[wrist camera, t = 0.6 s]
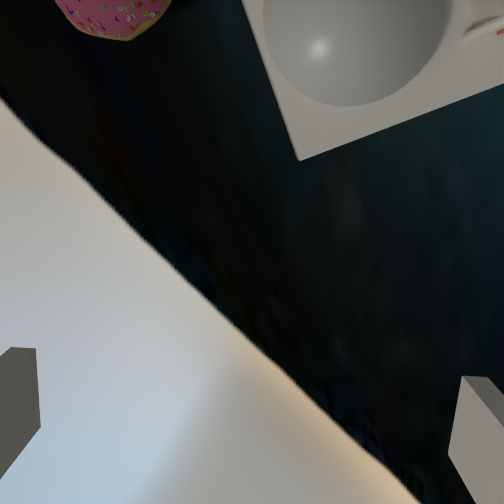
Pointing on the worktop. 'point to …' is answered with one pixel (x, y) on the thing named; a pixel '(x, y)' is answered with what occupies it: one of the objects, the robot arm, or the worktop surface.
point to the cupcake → (113, 16)
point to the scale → (373, 61)
